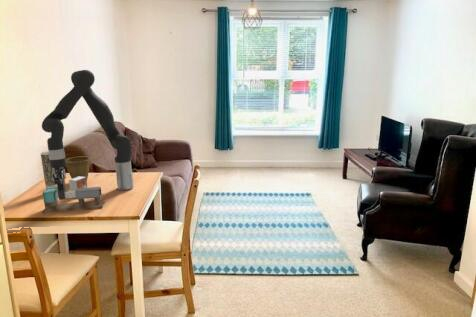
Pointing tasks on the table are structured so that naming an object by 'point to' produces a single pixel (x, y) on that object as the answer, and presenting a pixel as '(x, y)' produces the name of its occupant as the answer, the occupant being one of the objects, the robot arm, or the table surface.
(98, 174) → the table surface
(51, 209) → the rig base
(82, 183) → the small box
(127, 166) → the robot arm
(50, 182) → the paper tube
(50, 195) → the socket
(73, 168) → the plant pot
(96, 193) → the sleeve
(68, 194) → the grey block with post
